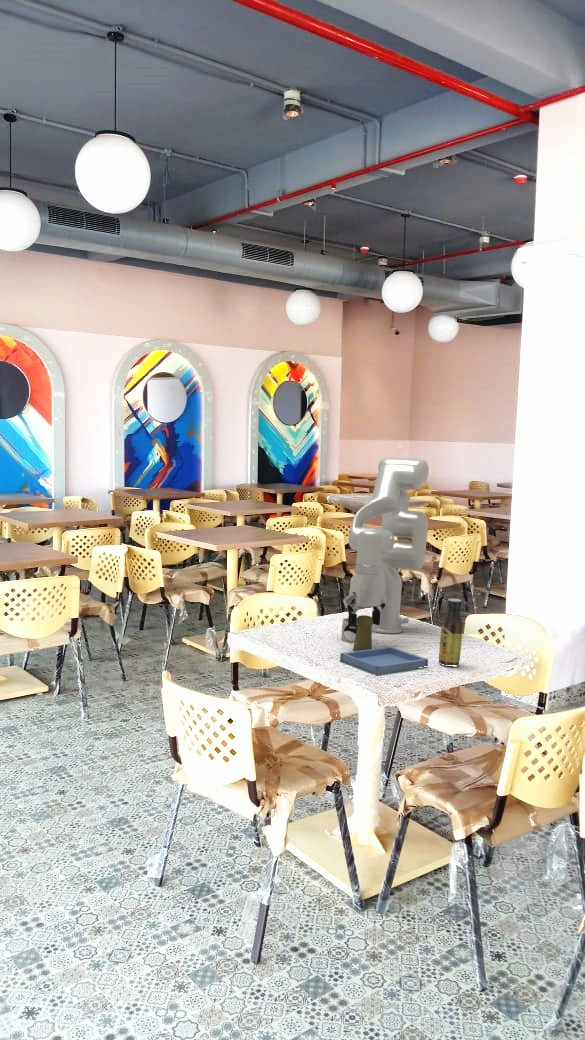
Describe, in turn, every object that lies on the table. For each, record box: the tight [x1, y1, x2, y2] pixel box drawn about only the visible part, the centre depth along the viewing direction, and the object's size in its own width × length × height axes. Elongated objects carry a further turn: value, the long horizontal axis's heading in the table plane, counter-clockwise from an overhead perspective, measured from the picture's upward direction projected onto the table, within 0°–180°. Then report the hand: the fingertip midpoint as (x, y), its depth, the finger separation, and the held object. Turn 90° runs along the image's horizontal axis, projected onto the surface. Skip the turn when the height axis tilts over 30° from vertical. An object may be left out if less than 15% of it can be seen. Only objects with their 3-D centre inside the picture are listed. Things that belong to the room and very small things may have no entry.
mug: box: [340, 617, 373, 644], centre depth 268 cm, size 10×7×7 cm
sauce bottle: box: [438, 598, 464, 666], centre depth 243 cm, size 6×6×20 cm
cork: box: [352, 614, 373, 652], centre depth 255 cm, size 6×6×11 cm
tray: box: [339, 646, 429, 676], centre depth 240 cm, size 20×16×2 cm
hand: (363, 625), depth 254 cm, fingers open, 9 cm apart
